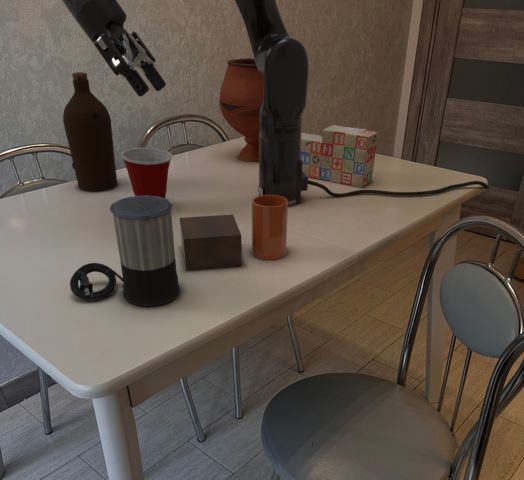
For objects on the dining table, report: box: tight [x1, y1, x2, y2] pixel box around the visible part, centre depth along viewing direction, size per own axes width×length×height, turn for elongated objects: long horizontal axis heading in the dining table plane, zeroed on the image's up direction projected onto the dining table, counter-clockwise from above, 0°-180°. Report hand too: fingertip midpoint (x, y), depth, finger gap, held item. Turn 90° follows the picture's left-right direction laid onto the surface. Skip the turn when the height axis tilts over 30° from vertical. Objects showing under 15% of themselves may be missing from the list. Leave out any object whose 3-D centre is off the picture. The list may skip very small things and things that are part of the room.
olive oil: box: [62, 71, 118, 192], centre depth 125 cm, size 11×11×25 cm
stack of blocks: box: [300, 124, 379, 188], centre depth 136 cm, size 21×6×12 cm, turn 58°
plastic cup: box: [120, 147, 173, 199], centre depth 116 cm, size 11×11×12 cm
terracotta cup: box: [251, 195, 289, 261], centre depth 98 cm, size 6×6×10 cm
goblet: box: [218, 57, 264, 162], centre depth 147 cm, size 19×19×25 cm
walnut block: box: [179, 213, 243, 271], centre depth 97 cm, size 10×10×6 cm
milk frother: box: [69, 195, 181, 307], centre depth 83 cm, size 14×16×15 cm
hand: (153, 90), depth 95 cm, fingers open, 8 cm apart
